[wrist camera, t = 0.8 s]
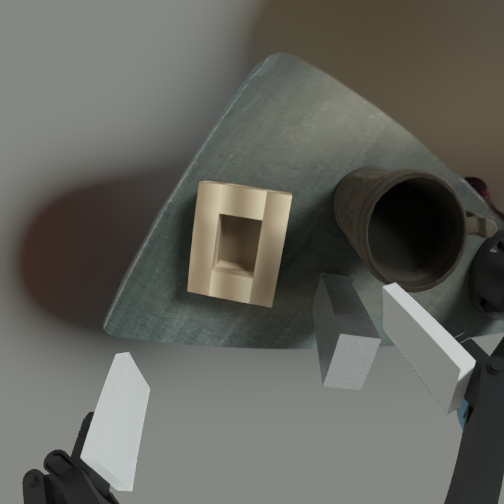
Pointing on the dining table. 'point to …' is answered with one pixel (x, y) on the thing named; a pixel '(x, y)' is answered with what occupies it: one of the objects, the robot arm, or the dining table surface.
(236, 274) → the well block
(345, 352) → the tall grey pillar
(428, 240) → the beer stein
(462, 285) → the dining table surface
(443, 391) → the robot arm
